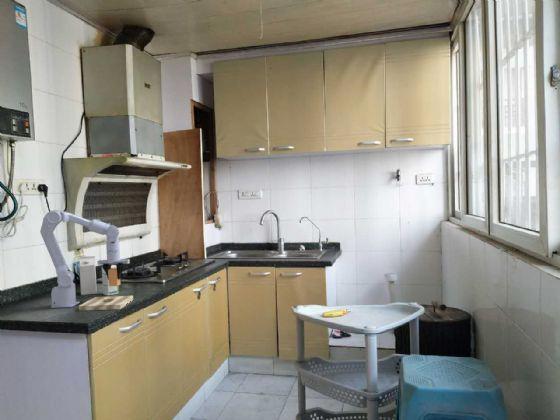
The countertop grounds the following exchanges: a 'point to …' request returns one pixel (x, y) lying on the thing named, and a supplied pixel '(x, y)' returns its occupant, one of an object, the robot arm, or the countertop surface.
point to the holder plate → (106, 303)
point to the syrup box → (106, 288)
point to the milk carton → (87, 275)
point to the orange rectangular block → (113, 277)
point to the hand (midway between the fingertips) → (114, 279)
